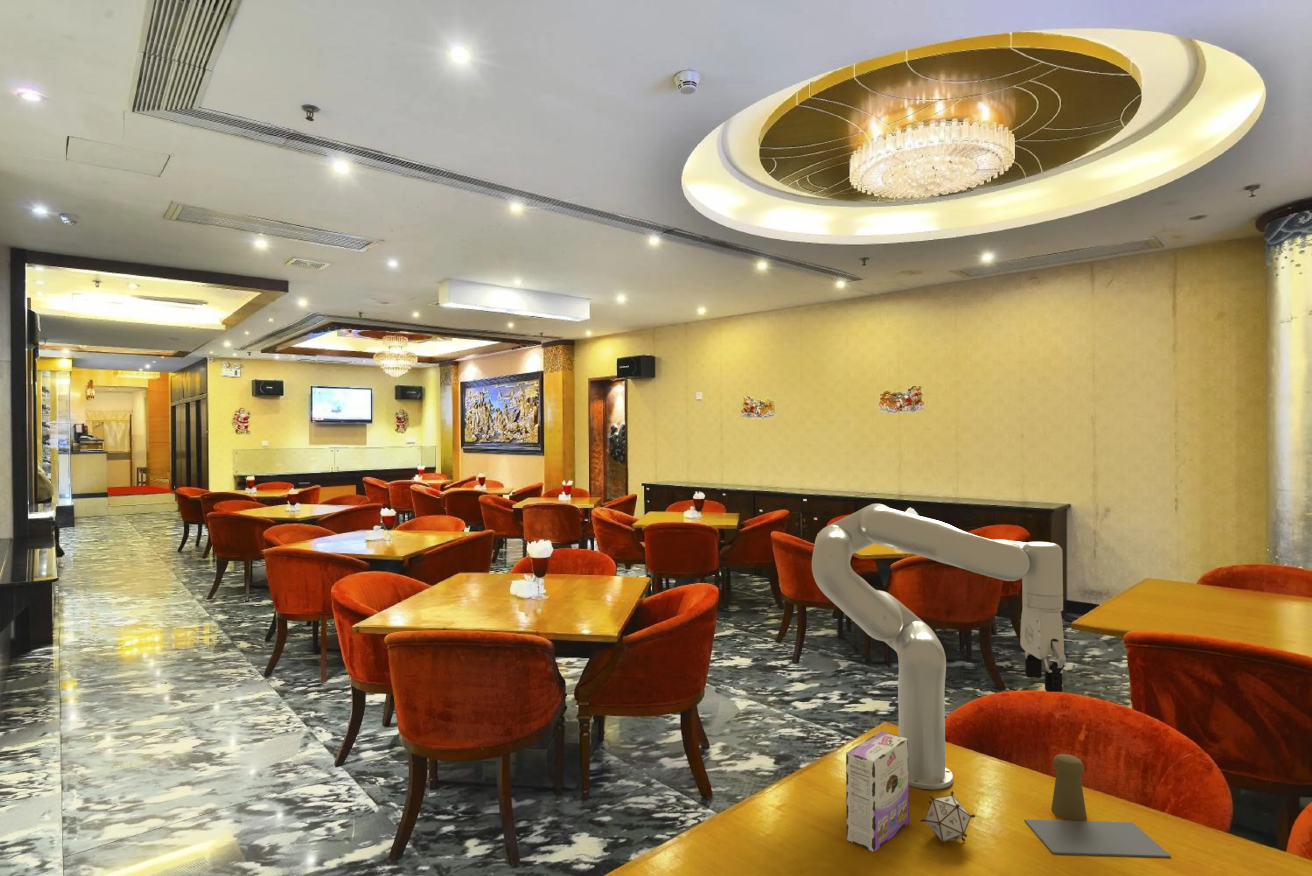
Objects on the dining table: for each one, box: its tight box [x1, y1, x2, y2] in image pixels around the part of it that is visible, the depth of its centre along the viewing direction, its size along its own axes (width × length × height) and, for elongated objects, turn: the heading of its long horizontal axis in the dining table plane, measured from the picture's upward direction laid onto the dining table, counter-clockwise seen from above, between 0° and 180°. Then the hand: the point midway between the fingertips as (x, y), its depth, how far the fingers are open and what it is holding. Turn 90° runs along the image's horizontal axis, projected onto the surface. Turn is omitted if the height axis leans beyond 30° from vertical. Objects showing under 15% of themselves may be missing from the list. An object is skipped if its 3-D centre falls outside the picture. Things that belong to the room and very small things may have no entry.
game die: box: [919, 790, 976, 848], centre depth 130 cm, size 9×8×10 cm
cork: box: [1051, 753, 1088, 821], centre depth 139 cm, size 6×6×11 cm
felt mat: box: [1024, 818, 1172, 858], centre depth 130 cm, size 20×11×1 cm, turn 86°
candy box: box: [845, 730, 910, 853], centre depth 132 cm, size 14×6×16 cm, turn 135°
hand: (1043, 683), depth 149 cm, fingers open, 8 cm apart
